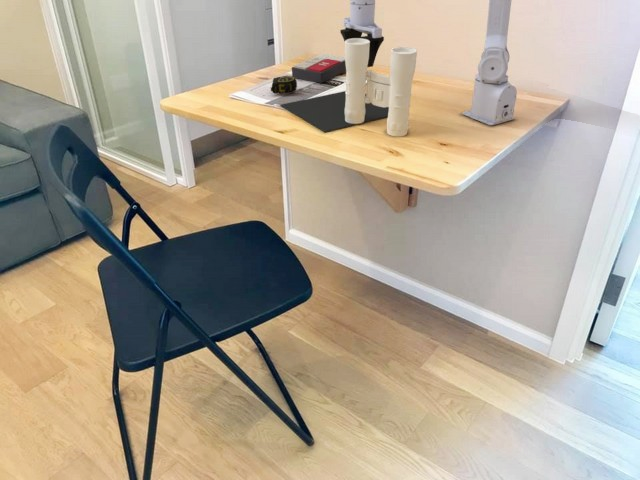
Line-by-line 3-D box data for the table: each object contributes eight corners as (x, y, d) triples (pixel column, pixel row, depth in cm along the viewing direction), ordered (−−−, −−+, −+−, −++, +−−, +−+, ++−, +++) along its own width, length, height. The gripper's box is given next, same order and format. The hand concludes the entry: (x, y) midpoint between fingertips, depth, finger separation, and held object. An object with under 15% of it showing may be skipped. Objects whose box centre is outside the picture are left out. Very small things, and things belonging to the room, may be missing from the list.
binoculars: (413, 131, 118) (422, 49, 108) (401, 139, 115) (408, 55, 105) (352, 114, 127) (354, 36, 117) (338, 120, 124) (339, 41, 114)
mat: (404, 113, 129) (405, 111, 129) (325, 132, 119) (324, 131, 119) (354, 90, 145) (354, 89, 144) (280, 105, 135) (280, 104, 135)
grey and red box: (290, 65, 154) (320, 51, 163) (291, 79, 156) (321, 65, 166) (321, 70, 148) (350, 56, 158) (321, 85, 151) (350, 70, 160)
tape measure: (273, 88, 147) (272, 75, 145) (297, 88, 147) (297, 74, 145) (271, 96, 142) (270, 82, 139) (296, 96, 141) (295, 82, 139)
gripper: (332, -1, 125) (332, 58, 133) (364, 9, 115) (361, 72, 122) (358, -3, 128) (356, 54, 135) (391, 6, 117) (387, 68, 125)
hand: (360, 62), depth 129 cm, fingers open, 7 cm apart
